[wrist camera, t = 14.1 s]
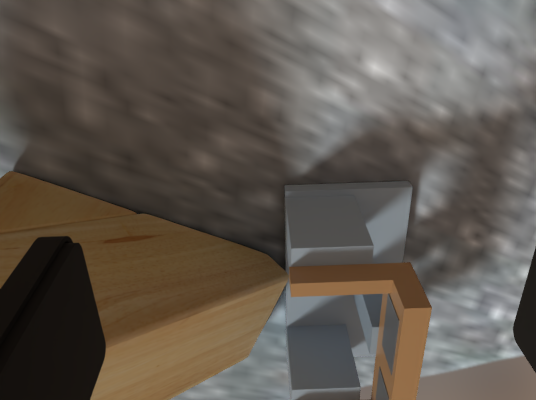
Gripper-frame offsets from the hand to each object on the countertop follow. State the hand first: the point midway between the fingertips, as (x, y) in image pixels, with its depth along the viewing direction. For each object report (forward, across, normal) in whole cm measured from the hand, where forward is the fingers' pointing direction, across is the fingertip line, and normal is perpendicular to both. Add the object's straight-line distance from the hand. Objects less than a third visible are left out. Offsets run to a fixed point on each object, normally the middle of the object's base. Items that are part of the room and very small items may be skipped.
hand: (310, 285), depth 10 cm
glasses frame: (+21, -5, +23) cm, 32 cm away
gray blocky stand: (+30, -6, +23) cm, 39 cm away
